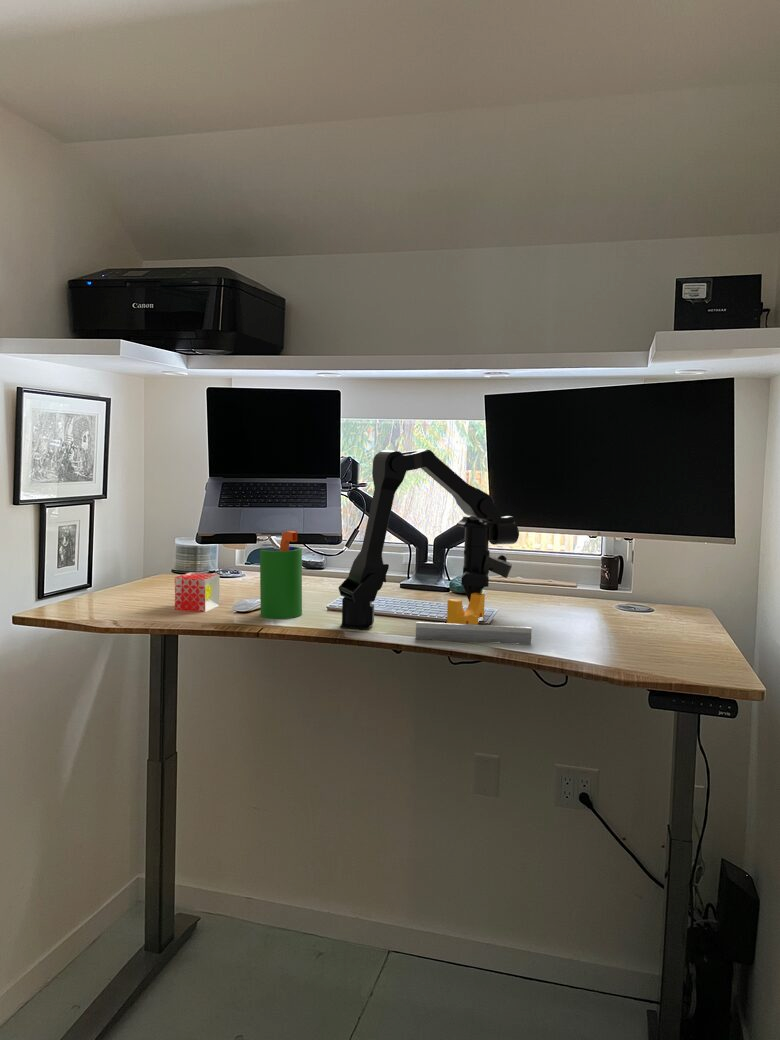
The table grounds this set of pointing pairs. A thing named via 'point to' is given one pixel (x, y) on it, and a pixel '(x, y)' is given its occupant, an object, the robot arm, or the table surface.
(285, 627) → the table surface
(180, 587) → the puzzle cube
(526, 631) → the rail
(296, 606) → the cup with straw
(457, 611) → the pipe clamp
